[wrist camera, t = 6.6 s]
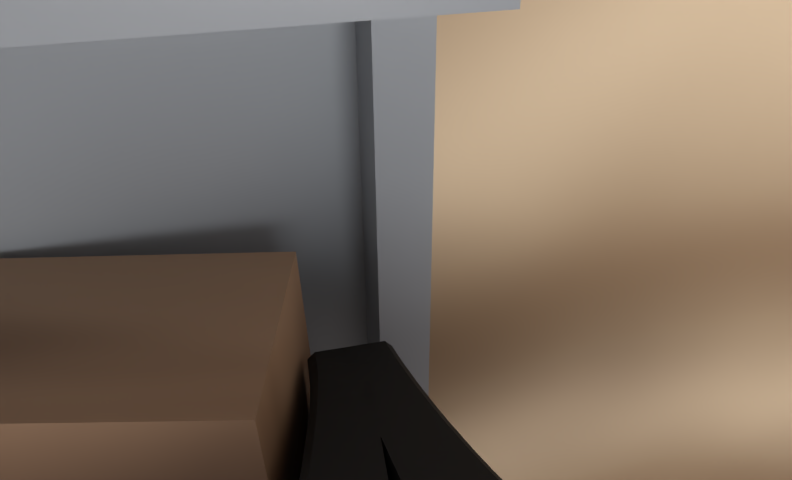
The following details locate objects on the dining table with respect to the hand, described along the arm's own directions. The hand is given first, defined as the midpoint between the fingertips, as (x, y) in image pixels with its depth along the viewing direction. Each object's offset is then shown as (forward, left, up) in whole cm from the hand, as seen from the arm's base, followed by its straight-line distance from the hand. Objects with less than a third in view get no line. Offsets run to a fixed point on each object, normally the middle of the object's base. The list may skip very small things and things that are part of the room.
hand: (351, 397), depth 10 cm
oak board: (0, -9, -2) cm, 9 cm away
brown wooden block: (0, +3, -1) cm, 3 cm away
